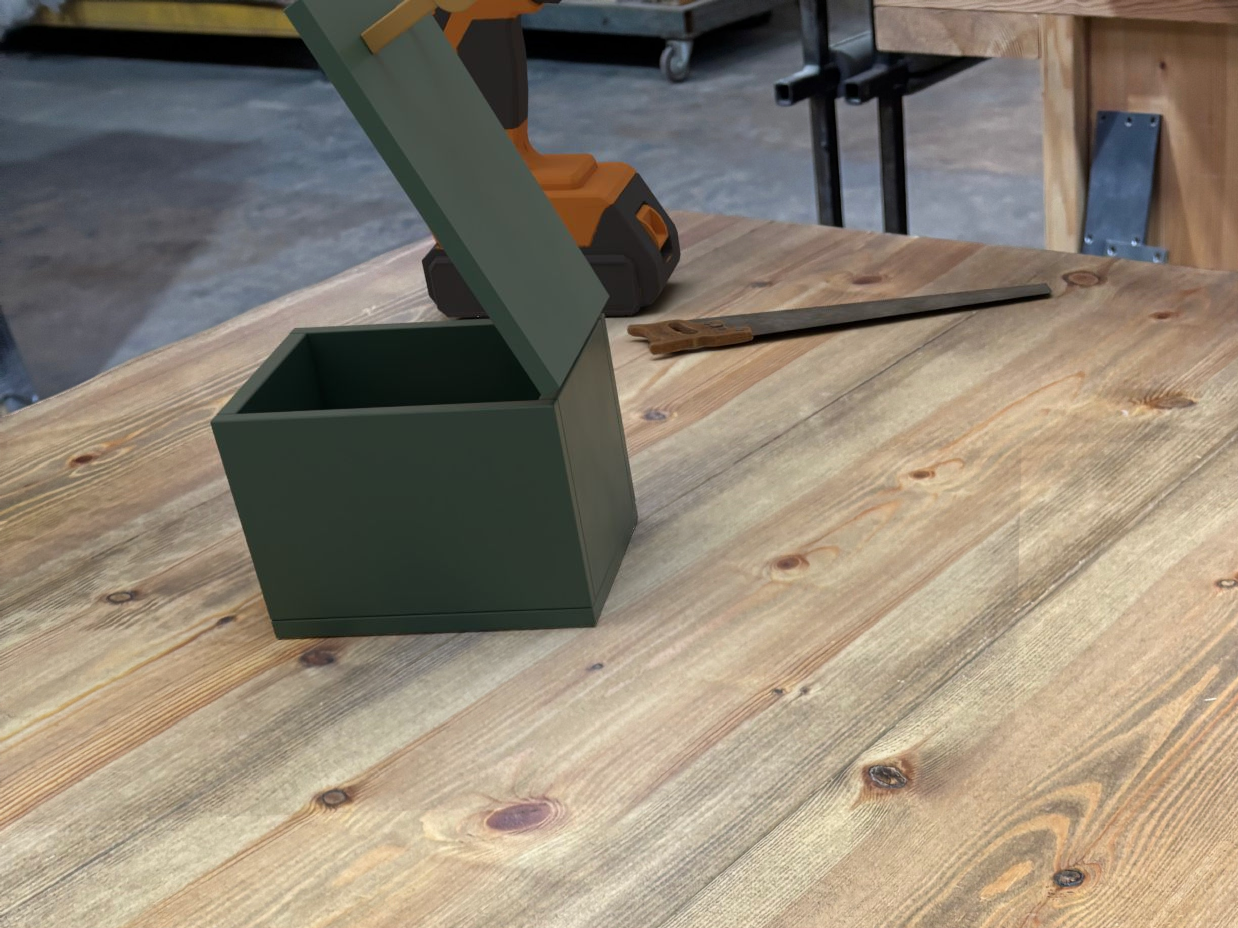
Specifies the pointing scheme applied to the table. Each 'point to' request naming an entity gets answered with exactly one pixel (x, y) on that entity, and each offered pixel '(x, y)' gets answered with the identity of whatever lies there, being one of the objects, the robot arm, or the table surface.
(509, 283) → the lid
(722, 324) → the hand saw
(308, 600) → the chest
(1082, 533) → the table surface
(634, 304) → the power drill
